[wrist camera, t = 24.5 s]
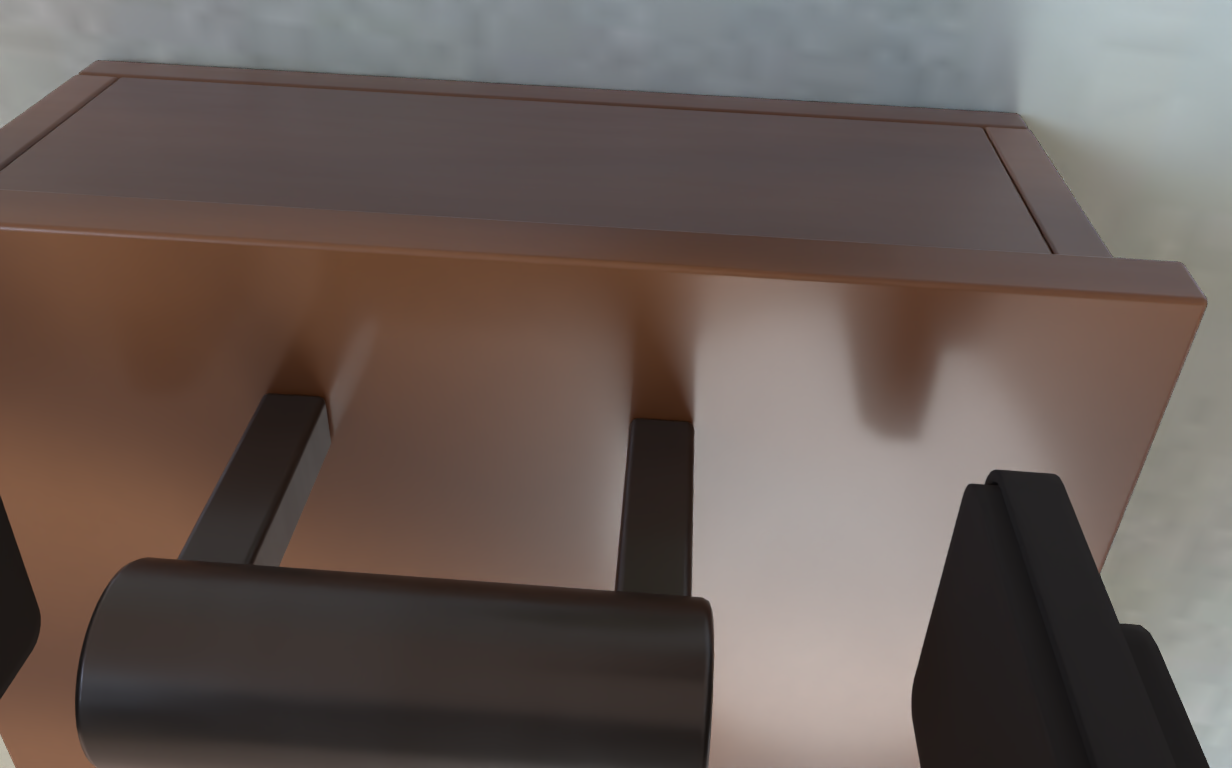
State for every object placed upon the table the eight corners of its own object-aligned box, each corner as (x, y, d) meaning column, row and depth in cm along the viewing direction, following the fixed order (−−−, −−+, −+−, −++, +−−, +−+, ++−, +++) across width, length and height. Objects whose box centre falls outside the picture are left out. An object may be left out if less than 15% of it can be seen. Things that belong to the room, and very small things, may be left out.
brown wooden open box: (94, 58, 18) (-124, 213, 13) (1020, 111, 17) (1138, 292, 13) (238, 715, 26) (137, 953, 22) (863, 763, 26) (898, 1017, 21)
